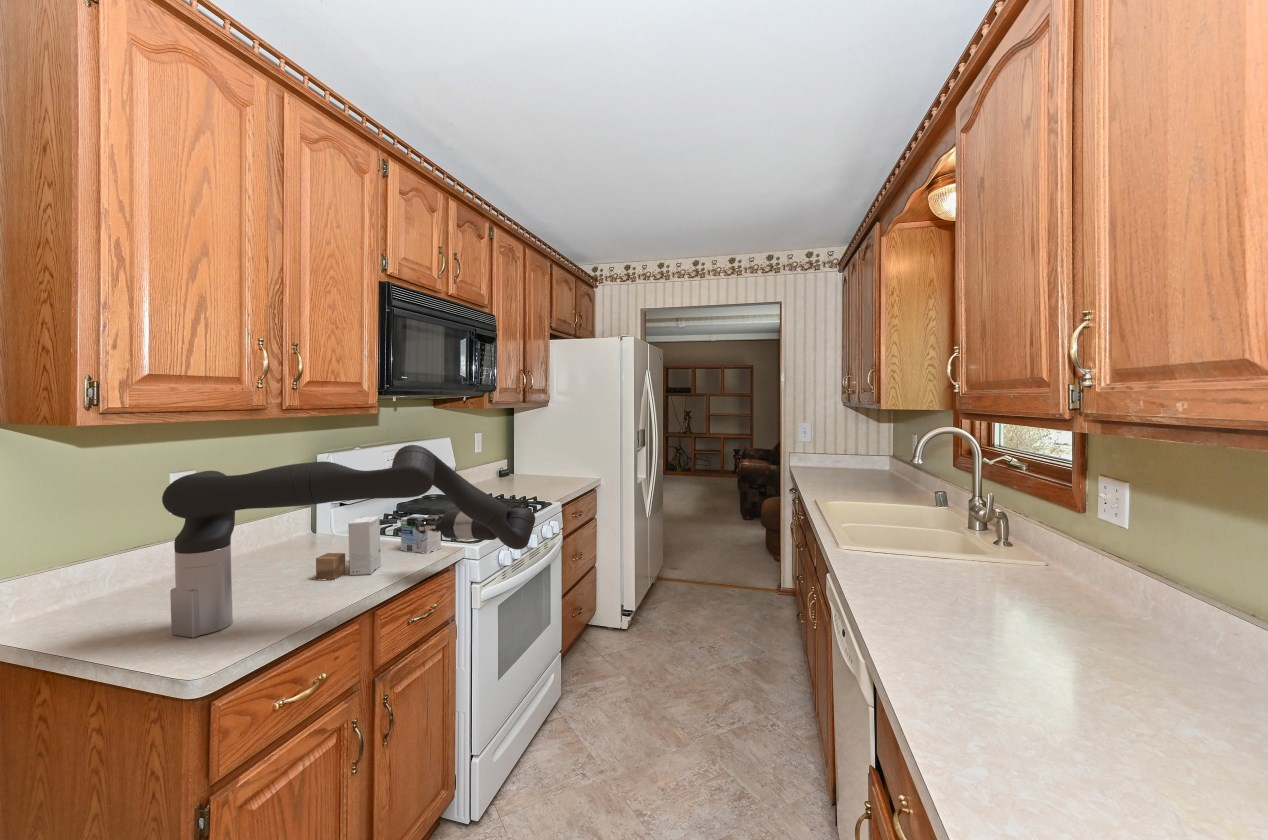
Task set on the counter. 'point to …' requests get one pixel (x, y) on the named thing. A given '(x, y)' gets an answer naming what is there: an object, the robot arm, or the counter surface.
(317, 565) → the walnut block
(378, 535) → the skincare box
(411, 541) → the light bulb box
